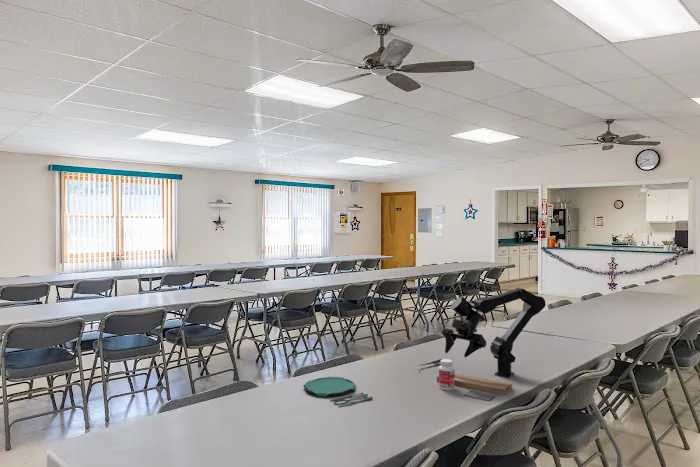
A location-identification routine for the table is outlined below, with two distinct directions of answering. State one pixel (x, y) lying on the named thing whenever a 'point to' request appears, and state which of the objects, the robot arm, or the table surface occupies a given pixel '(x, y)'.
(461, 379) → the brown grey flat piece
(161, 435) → the table surface
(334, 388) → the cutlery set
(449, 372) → the pill bottle
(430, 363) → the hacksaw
